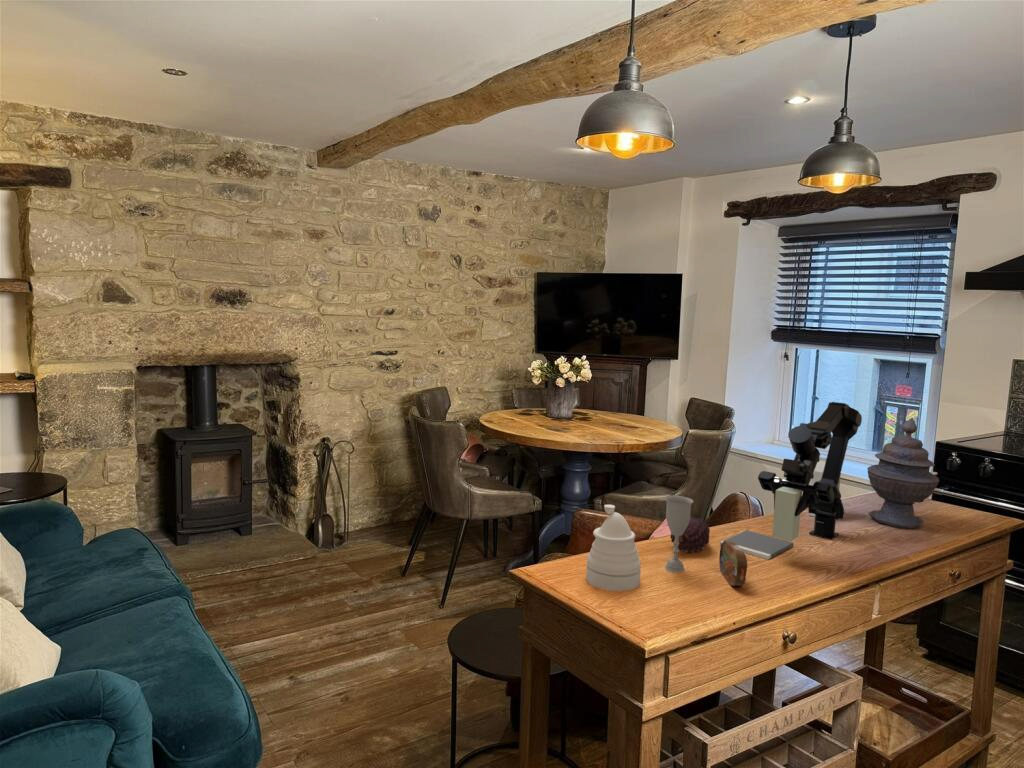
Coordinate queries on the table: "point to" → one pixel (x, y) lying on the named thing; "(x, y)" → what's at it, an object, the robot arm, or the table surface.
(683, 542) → the pine cone
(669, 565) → the chalice
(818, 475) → the milk carton
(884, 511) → the decorative urn
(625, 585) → the honey pot
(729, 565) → the tin
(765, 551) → the mat
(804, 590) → the table surface
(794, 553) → the table surface
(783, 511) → the sage block
